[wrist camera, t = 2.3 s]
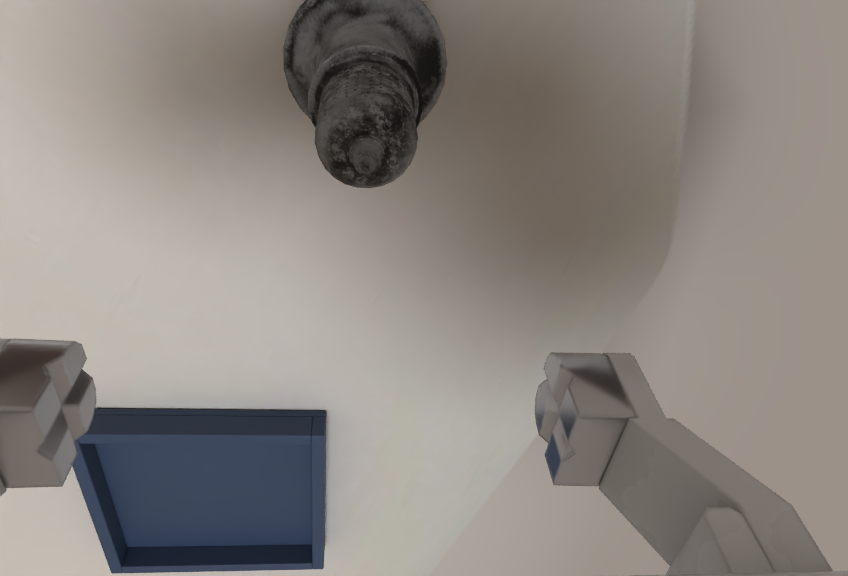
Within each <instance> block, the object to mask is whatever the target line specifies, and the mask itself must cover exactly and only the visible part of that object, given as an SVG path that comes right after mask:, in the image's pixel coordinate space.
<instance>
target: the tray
mask: <svg viewBox="0 0 848 576" xmlns="http://www.w3.org/2000/svg"><path fill="white" fill-rule="evenodd" d="M74 444H75V447H76V450H77V453H78V454H77V456H76V458H75V460H74V462H73V464H72V466H73V469H74V471H75V474H76V477H77V480H78V482H79V485H80V488H81V491H82V493H83V496H84V499H85V502H86V504H87V507H88V510H89V513H90V515H91V518H92V521H93V524H94V526H95V529H96V532H97V534H98V537H99V540H100V543H101V545H102V548H103V551H104V554H105V556H106V559H107V562H108V565H109V567H110V570H111V573H154V572H203V571H252V570H302V569H323V568H324V549H325V485H326V411H293V410H198V409H102V408H95V411H94V417H93V420H92V422H91V425H90V427H89V429H88V432H86V433H85V434H84V435H82V436H81V437H80V438H78V439H77V440H75V441H74Z"/></svg>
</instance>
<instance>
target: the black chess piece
mask: <svg viewBox="0 0 848 576" xmlns="http://www.w3.org/2000/svg"><path fill="white" fill-rule="evenodd" d="M446 66H447V59H446V51H445V43H444V39H443V37H442V34H441V32H440V29H439V26H438V24H437V21H436V19H435V18H434V17H433V15H432V14H431V13H430V11H429V10H428V9H427V7H426V6H425V4H424V3H423V2H422V1H421V0H306V1H305V2H304V3H303V4H302V5H301V6H300V7H299V9H298V11H297V13H296V14H295V16H294V18H293V19H292V21H291V23H290V25H289V28H288V32H287V36H286V40H285V43H284V71H285V75H286V78H287V82H288V86H289V89H290V91H291V93H292V95H293V97H294V98H295V100H296V102H297V103H298V105H299V107H300V109H301V110H302V111H303V112H304V113H305V114H306V115H307V116H308V117H309V118H310V119H311V120H312V123H313V124H314V126H315V128H316V129H315V145H316V148H317V152H318V156H319V158H320V160H321V162H322V164H323V165H324V167H325V169H326V170H327V171H328V172H329V173H330V174H331V175H332V176H333V177H334V178H336V179H337V180H339V181H341V182H343V183H344V184H347V185H350V186H354V187H357V188H373V187H379V186H383V185H385V184H387V183H390V182H392V181H394V180H395V179H396V178H398V177H399V176H400V175H402V174H403V173H404V171H405V170H406V169H407V168H408V166H409V165H410V163H411V161H412V159H413V156H414V154H415V151H416V148H417V140H418V134H417V127H418V125H419V123H420V122H421V121H422V120H423V119H424V118H425V117H426V116H427V114H428V113H429V112H430V110H431V109H432V108H433V107H434V105H435V104H436V102H437V100H438V97H439V95H440V93H441V90H442V88H443V85H444V81H445V74H446Z"/></svg>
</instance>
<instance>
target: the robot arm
mask: <svg viewBox="0 0 848 576" xmlns="http://www.w3.org/2000/svg"><path fill="white" fill-rule="evenodd" d="M86 359H87V358H86V355H85V352H84V349H83V346H82V344H80V343H78V342H76V341H57V340H35V339H0V496H1V495H2V494H3V493H5V492H6V488H25V487H60V486H63V484H64V482H65V480H66V477H67V475H68V473H69V471H70V469H71V467H72V464H73V462H74V460H75V458H76V456H77V454H78V453H77V450H76V447H75V444H74V441H75V440H77V439H78V438H80V437H81V436H82V435H84V434H85V433H86V432H88V429H89V427H90V425H91V422H92V420H93V417H94V411H95V406H96V389H95V385H94V381H93V378H92V377H91V376H89V375H88V374H87V373H86V372H84V371H83V370H82V367H83V365H84V363H85V361H86ZM544 370H545V374H546V377H547V379H546V380H545V381H544V382H542V383H541V384H540V385H539V386H538V390H537V394H536V398H535V419H536V425H537V429H538V433H539V435H540V436H541V437H542V438H543V439H544V440H545V441H546V442H547V443H548V446H547V450H546V453H545V457H546V461H547V464H548V468H549V471H550V474H551V478H552V481H553V485H569V486H599V489H600V490H601V492H602V493H603V494H604V495H605V496H606V497H607V498H608V499H609V500H610V501H611V502H612V504H613V505H614V506H615V507H616V508H617V509H618V510H619V511H620V512H621V513H622V514H623V515H624V517H625V518H626V519H627V520H628V521H629V522H630V523H631V524H632V525H633V526H634V527H635V528H636V530H637V531H638V532H639V533H640V534H641V535H642V536H643V537H644V538H645V539H646V540H647V542H648V543H649V544H650V545H651V546H652V547H653V548H654V549H655V550H656V551H657V552H658V553H659V555H660V556H661V557H662V558H663V559H664V560H665V561H666V562H667V563H668V564H669V565H670V568H669V570H668V571H667V573H666V574H665V575H633V576H848V571H833V570H832V569H831V567H830V565H829V564H828V562H827V561H826V559H825V557H824V556H823V554H822V553H821V551H820V550H819V548H818V546H817V545H816V543H815V541H814V540H813V538H812V537H811V535H810V533H809V532H808V530H807V528H806V527H805V525H804V524H803V522H802V521H801V519H800V517H799V516H798V514H797V513H796V511H795V509H794V508H793V506H792V505H791V504H790V503H788V502H787V501H786V500H784V499H783V498H781V497H780V496H779V495H777V494H776V493H774V492H773V491H772V490H771V489H769V488H768V487H766V486H765V485H764V484H762V483H761V482H759V481H758V480H757V479H755V478H754V477H753V476H751V475H750V474H749V473H747V472H746V471H744V470H743V469H742V468H740V467H739V466H738V465H736V464H735V463H734V462H732V461H731V460H730V459H728V458H727V457H725V456H724V455H723V454H721V453H720V452H719V451H717V450H716V449H714V448H713V447H712V446H710V445H709V444H708V443H706V442H705V441H704V440H702V439H701V438H700V437H698V436H697V435H695V434H694V433H693V432H691V431H690V430H689V429H687V428H686V427H685V426H683V425H682V424H680V423H679V422H678V421H676V420H675V419H667V418H666V417H665V415H664V413H663V411H662V409H661V408H660V406H659V404H658V402H657V400H656V398H655V396H654V394H653V392H652V390H651V388H650V386H649V384H648V382H647V380H646V378H645V377H644V375H643V373H642V371H641V369H640V367H639V365H638V363H637V361H636V359H635V357H634V356H633V355H631V354H630V353H603V354H601V353H555V352H551V353H550V354H549V356H548V357H547V359H546V363H545V366H544Z"/></svg>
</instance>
